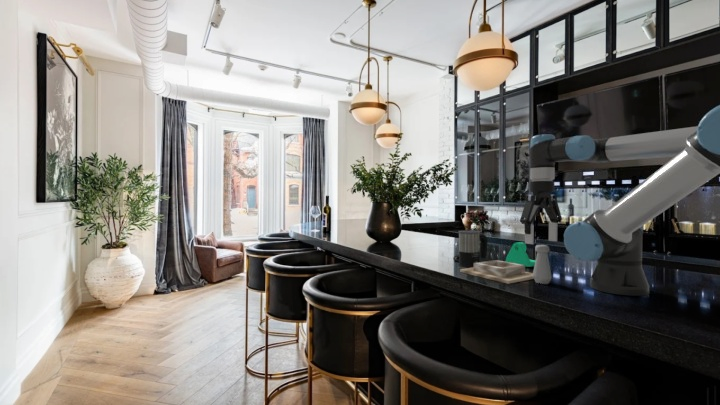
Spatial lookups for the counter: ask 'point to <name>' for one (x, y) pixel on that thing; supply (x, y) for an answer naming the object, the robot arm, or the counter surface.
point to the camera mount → (519, 255)
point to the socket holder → (499, 271)
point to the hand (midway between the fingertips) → (541, 242)
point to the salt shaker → (542, 265)
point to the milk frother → (471, 248)
